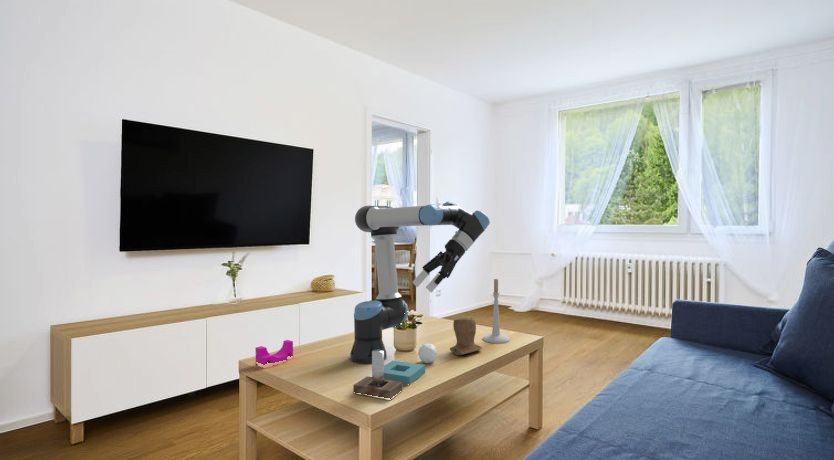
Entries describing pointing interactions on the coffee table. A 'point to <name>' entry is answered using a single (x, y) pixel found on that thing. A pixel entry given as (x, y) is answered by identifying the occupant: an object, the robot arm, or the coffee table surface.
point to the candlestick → (496, 321)
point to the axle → (378, 368)
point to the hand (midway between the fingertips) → (421, 287)
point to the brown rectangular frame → (378, 388)
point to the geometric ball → (427, 353)
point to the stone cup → (464, 336)
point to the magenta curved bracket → (281, 355)
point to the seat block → (403, 371)
